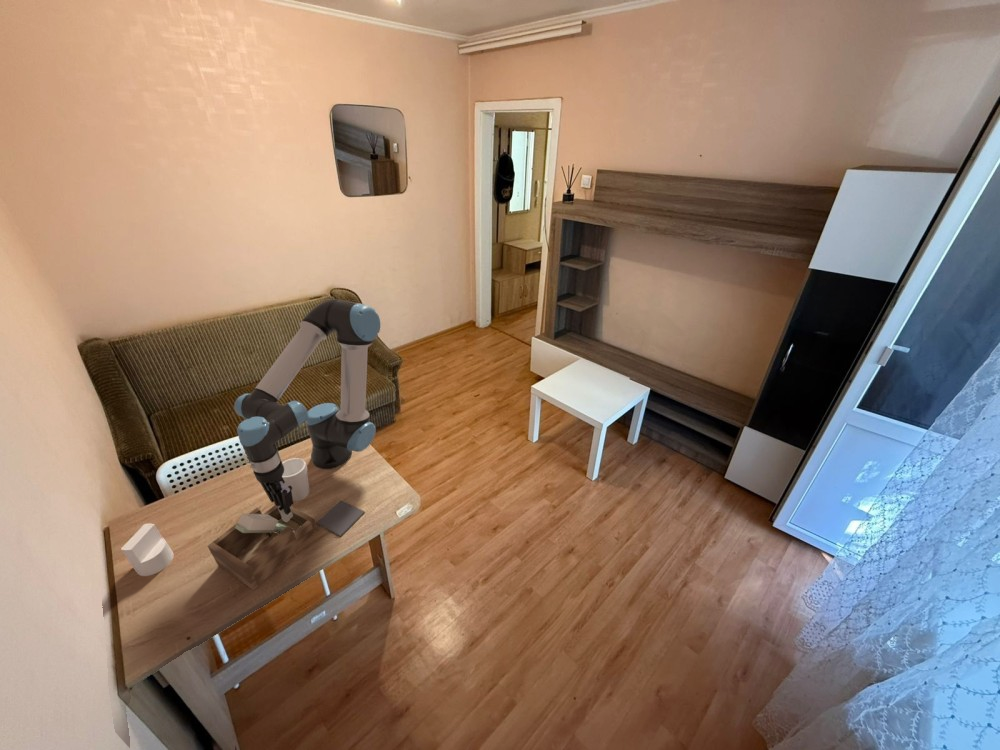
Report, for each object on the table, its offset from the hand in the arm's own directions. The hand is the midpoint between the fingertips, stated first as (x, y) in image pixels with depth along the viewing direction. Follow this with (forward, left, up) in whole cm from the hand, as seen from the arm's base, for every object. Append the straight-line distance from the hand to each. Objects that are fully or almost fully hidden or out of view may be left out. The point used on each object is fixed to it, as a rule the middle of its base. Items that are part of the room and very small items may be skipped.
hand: (288, 518), depth 131 cm
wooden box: (+8, 0, -5) cm, 9 cm away
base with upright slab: (+27, -26, -5) cm, 38 cm away
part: (+9, 0, +6) cm, 11 cm away
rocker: (+7, 0, +3) cm, 8 cm away
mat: (-11, +11, -5) cm, 16 cm away
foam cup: (-12, -10, -5) cm, 16 cm away
